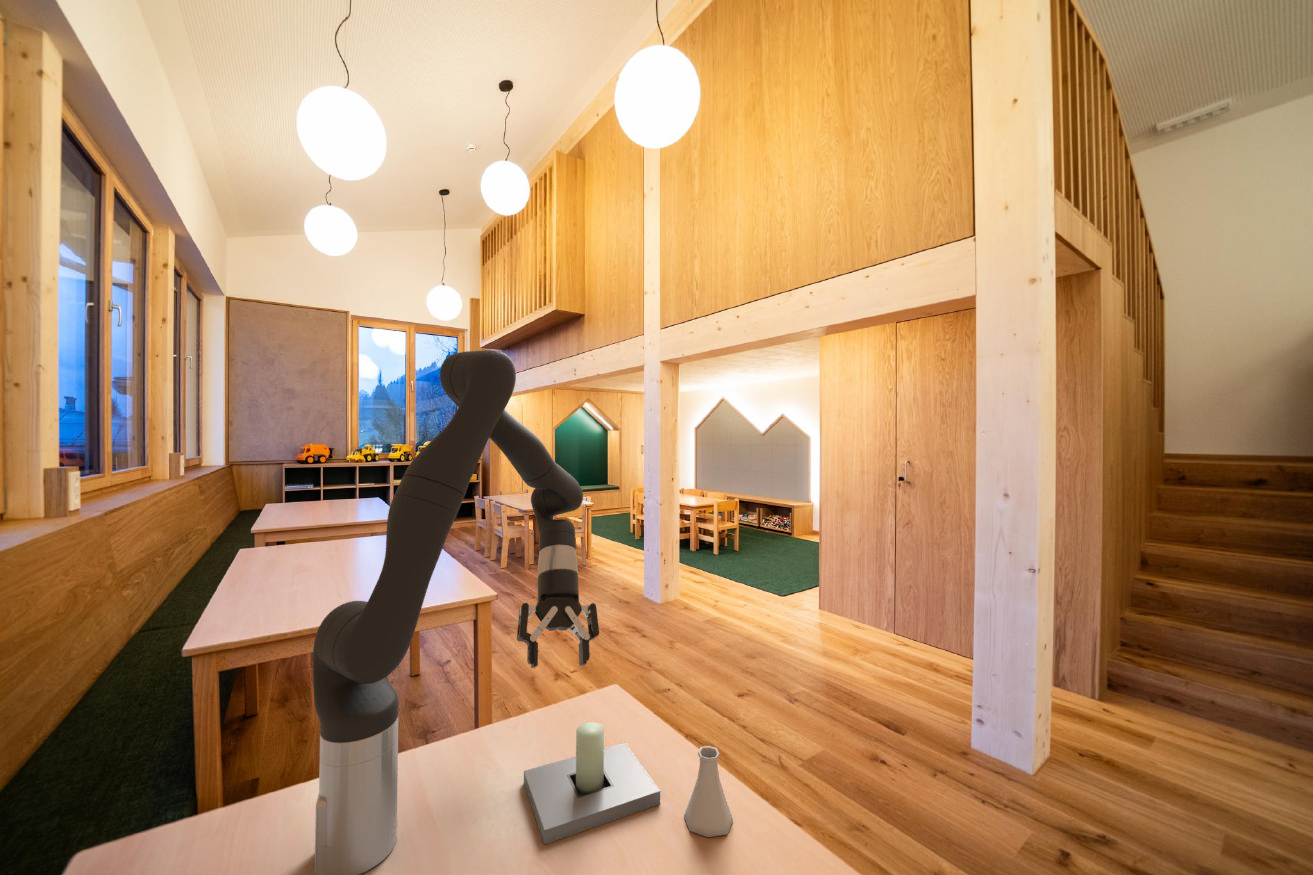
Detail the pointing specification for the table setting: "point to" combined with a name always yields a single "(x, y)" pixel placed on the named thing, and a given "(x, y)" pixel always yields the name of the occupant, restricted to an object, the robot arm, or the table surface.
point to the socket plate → (588, 794)
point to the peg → (589, 758)
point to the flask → (708, 798)
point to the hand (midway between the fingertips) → (559, 665)
